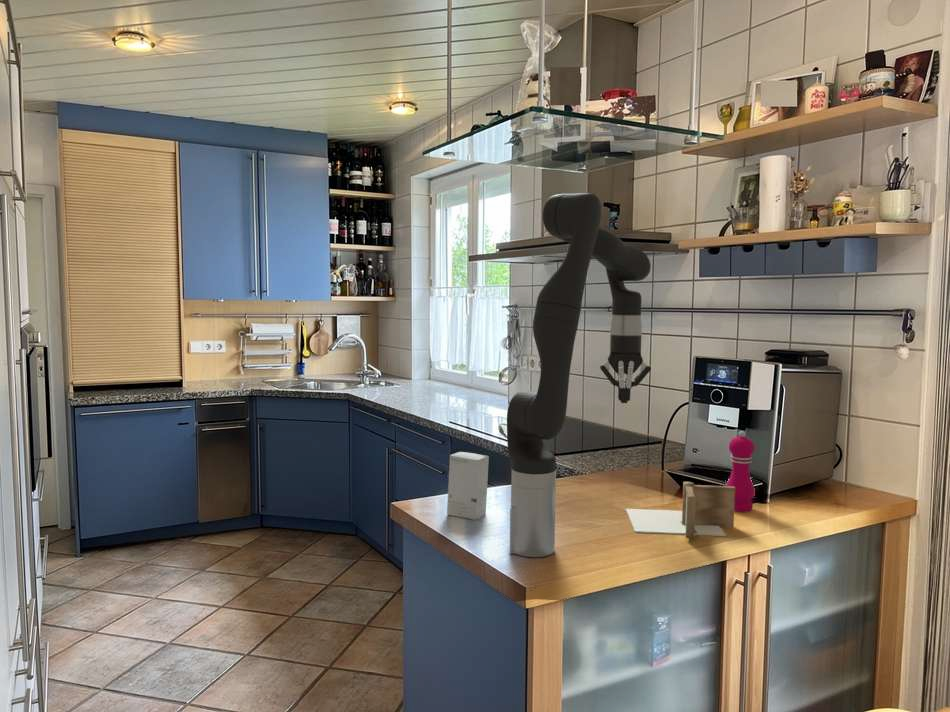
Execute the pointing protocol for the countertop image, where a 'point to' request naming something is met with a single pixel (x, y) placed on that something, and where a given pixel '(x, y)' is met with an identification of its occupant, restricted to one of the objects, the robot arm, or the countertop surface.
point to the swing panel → (690, 512)
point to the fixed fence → (711, 504)
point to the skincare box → (467, 485)
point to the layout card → (666, 523)
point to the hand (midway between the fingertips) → (624, 402)
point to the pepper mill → (741, 472)
